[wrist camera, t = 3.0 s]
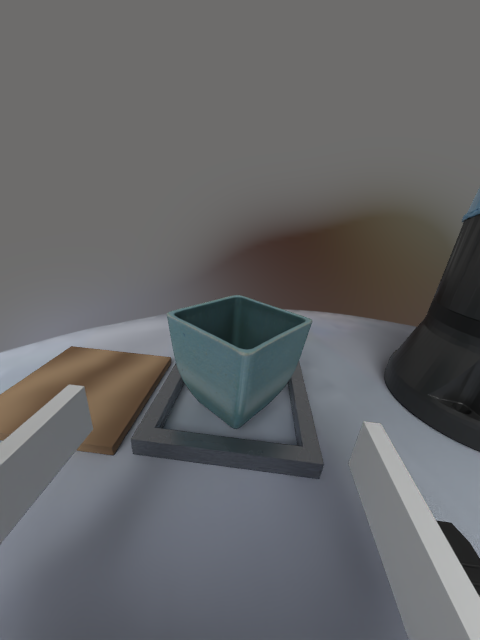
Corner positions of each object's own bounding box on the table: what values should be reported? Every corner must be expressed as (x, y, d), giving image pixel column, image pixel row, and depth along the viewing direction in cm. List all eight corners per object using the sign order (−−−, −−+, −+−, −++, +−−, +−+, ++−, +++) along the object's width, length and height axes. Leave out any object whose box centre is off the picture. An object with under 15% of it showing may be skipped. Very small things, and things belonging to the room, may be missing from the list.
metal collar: (296, 369, 29) (298, 358, 29) (319, 478, 17) (323, 464, 17) (186, 356, 30) (186, 346, 30) (132, 454, 18) (130, 439, 17)
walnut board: (171, 363, 29) (170, 357, 28) (113, 455, 18) (111, 447, 17) (72, 352, 29) (71, 346, 29) (-43, 434, 18) (-47, 426, 18)
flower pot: (232, 364, 29) (237, 292, 26) (297, 402, 24) (315, 318, 21) (168, 400, 23) (163, 311, 20) (237, 461, 18) (247, 356, 14)
